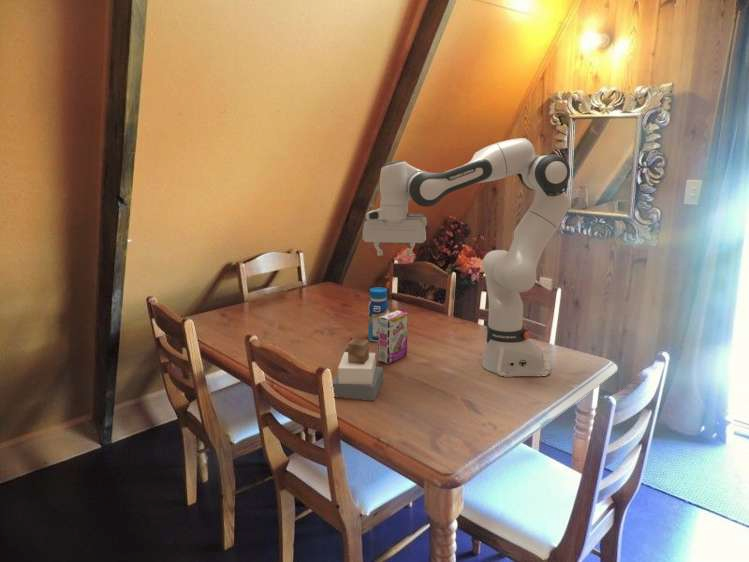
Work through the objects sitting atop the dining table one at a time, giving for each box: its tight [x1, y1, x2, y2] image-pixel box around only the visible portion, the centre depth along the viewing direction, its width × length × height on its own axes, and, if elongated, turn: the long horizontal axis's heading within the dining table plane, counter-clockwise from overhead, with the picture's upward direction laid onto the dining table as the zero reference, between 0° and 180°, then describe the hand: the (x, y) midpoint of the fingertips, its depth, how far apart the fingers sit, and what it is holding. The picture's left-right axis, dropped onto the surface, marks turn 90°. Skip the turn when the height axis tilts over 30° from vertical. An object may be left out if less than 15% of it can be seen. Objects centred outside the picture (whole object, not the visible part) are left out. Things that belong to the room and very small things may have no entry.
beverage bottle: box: [367, 287, 391, 343], centre depth 214 cm, size 8×8×20 cm
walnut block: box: [347, 338, 370, 364], centre depth 170 cm, size 5×5×6 cm
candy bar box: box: [377, 309, 409, 365], centre depth 195 cm, size 11×5×16 cm, turn 141°
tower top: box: [337, 352, 377, 385], centre depth 172 cm, size 10×13×5 cm
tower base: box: [332, 366, 384, 401], centre depth 173 cm, size 13×15×5 cm
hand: (394, 256), depth 179 cm, fingers open, 8 cm apart
